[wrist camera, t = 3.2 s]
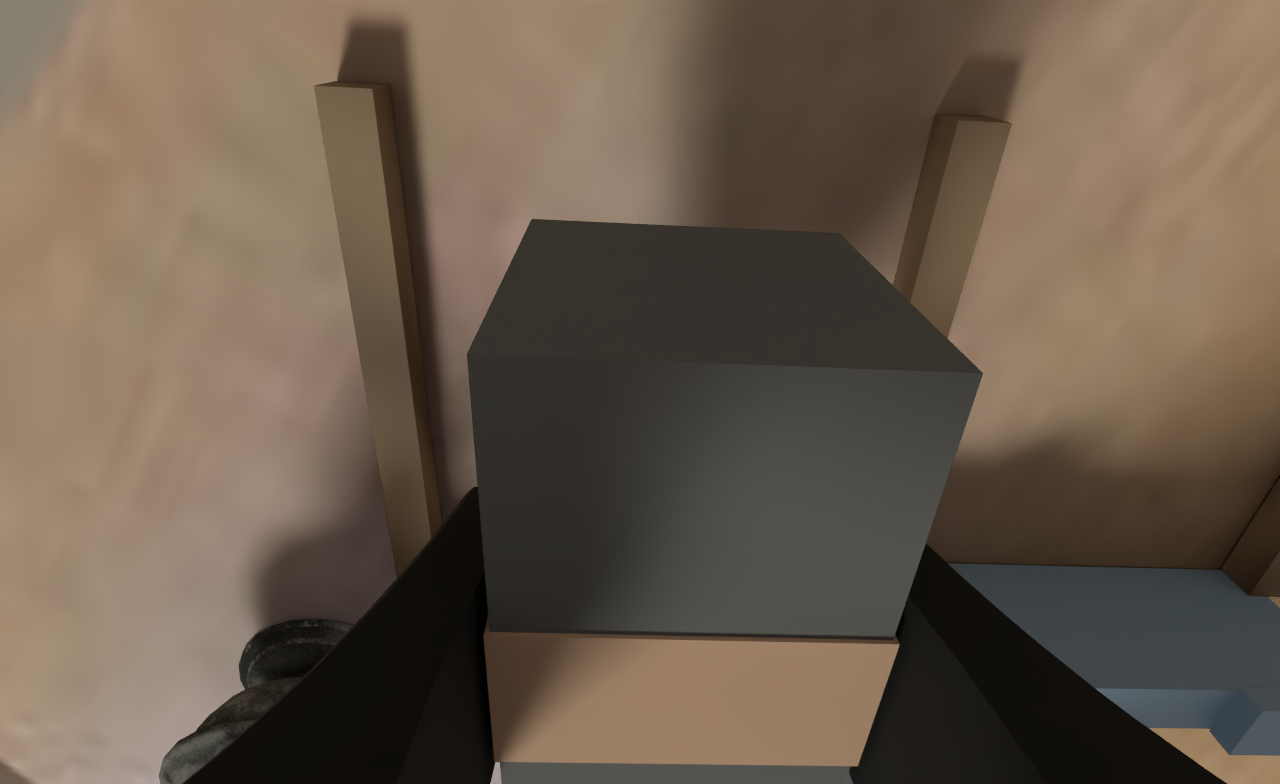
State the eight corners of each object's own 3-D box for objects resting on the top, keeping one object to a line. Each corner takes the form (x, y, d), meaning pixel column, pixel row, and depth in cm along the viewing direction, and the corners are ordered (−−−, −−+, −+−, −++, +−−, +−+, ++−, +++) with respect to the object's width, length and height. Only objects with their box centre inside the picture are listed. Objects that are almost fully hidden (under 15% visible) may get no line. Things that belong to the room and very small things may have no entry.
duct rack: (1228, 608, 20) (1382, 756, 16) (414, 590, 19) (357, 744, 15) (1537, 146, 14) (1923, 199, 10) (335, 81, 12) (199, 109, 8)
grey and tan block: (758, 651, 13) (811, 900, 9) (540, 646, 12) (506, 900, 9) (841, 232, 9) (991, 376, 5) (528, 218, 9) (458, 356, 5)
